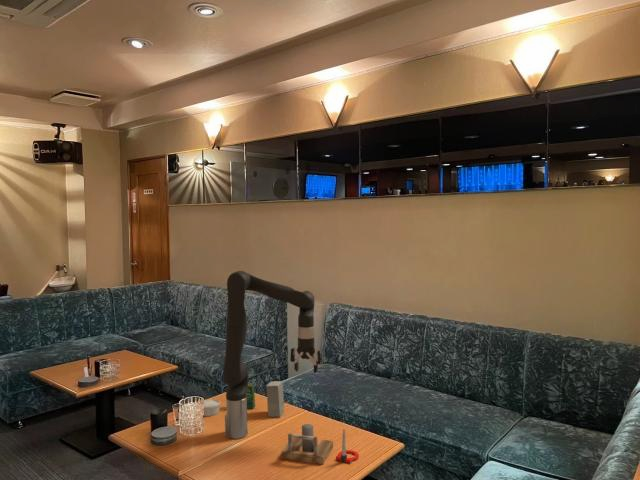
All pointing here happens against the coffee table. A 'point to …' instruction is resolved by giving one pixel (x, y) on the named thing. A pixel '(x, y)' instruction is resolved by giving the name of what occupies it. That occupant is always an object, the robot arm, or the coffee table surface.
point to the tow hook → (342, 454)
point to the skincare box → (275, 398)
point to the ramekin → (211, 407)
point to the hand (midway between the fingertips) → (306, 371)
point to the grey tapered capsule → (307, 444)
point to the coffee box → (250, 396)
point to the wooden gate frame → (317, 456)
